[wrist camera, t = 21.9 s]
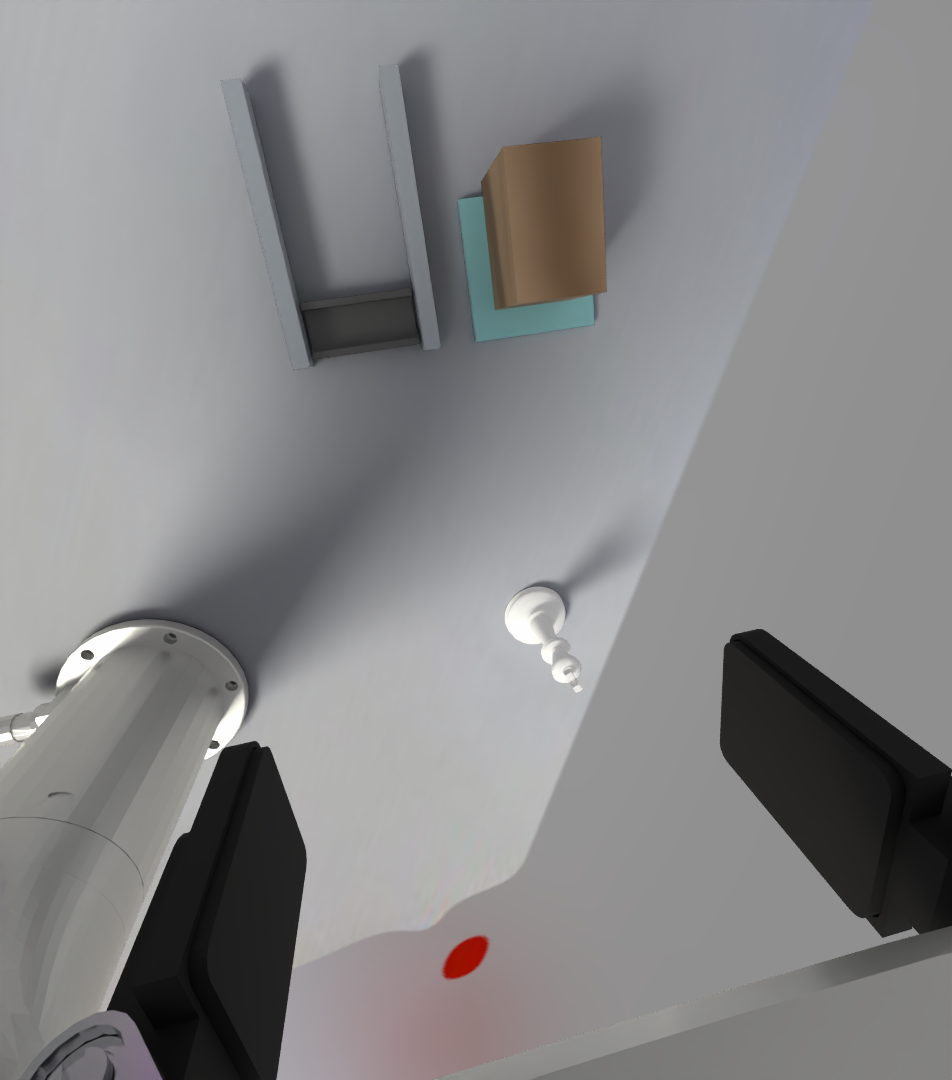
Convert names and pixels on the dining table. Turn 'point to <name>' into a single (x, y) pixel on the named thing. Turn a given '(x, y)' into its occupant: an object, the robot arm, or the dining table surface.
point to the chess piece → (543, 630)
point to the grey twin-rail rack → (353, 317)
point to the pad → (481, 292)
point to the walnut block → (545, 222)
